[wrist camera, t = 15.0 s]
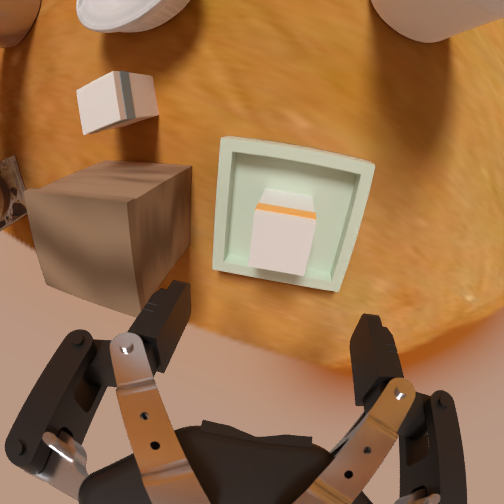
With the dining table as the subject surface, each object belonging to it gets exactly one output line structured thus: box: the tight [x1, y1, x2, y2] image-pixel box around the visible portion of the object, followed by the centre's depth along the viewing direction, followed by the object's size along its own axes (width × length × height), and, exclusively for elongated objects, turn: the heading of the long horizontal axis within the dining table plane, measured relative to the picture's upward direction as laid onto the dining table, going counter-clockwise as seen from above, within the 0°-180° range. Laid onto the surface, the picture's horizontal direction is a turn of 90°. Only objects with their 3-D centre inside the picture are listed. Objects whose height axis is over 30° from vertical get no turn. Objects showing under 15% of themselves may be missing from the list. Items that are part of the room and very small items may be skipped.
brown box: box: [24, 161, 192, 317], centre depth 21 cm, size 9×11×11 cm
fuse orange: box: [248, 188, 317, 276], centre depth 21 cm, size 4×4×6 cm
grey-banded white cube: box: [76, 71, 159, 135], centre depth 18 cm, size 4×4×6 cm
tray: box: [212, 136, 376, 292], centre depth 23 cm, size 12×12×2 cm
